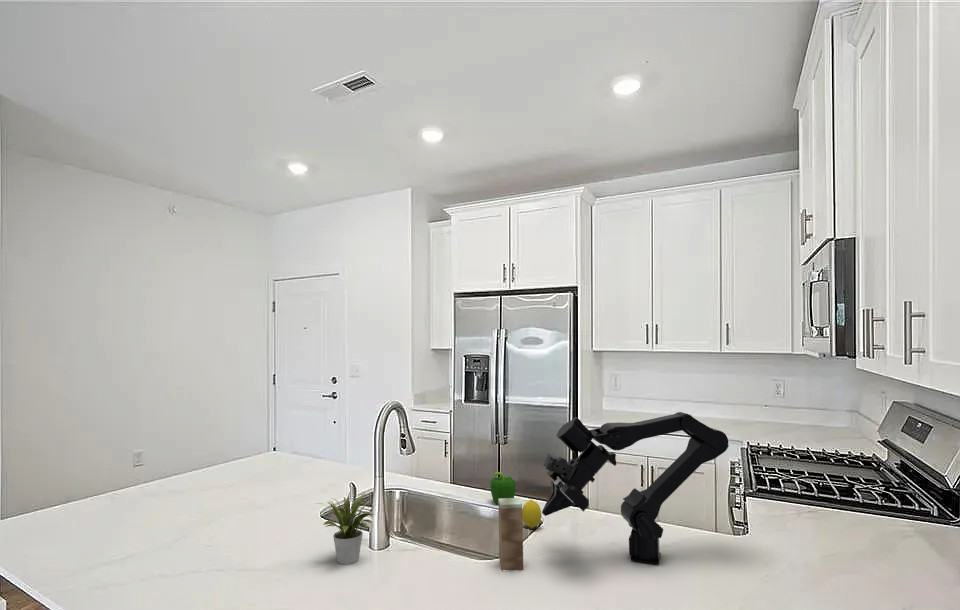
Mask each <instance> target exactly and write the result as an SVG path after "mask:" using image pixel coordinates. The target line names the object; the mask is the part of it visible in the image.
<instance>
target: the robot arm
mask: <svg viewBox="0 0 960 610" xmlns="http://www.w3.org/2000/svg"><path fill="white" fill-rule="evenodd" d="M681 431H682V432H684V433H685V434H686V435H687V436H689V437H690V438H689V440H688V442H687V445H686V448H685V450H684V451H683V452H682V453H681V454H680V455H679V456H678V457H677V458H676V459H675V460H674V462H672V464H670V466H668V467H667V468H666V469H665V470H664V471H663V472H662V473H661V474H660V475H659V476H658V477H657V478H656V479H655V480H654V481H652V483H651V484H650V485H649V486H648V487H647V488H646V489H643V490H639V489H637V488H636V487H635V488H633V489H632V490H631V491H630V493H629V494H628V495H626V496H625V497H623V498H622V499H623V502H622V503H621V505H620V513H621V517H622V518H623V520H625V521H626V522H627V523H628V526H629V527H630V528H631V531H630V535H629V536H628V552H629V553H628V555H629V556H630V561H631V562H638V563H643V564H651V565H659V564H660V560H661V556H662V554H661V552H660V539H662V536H663V533H664V528H663V527H662V526H661V525H659V523H657V522H656V519H657V518H658V516H659V513H660V512H661V511H660V510H661V508H662V506H663V503H665V501H666V500H667V499H669V498H670V497H671V495H673V494H674V493H675V492H676V490H678V489H679V488H680V486H682V485H683V483H685V481H687V479H689V478H690V477H691V475H693V473H695V471H696V470H697V469H699V468H700V467H701V466H702V464H705V463H707V462H710V461H713V460H715V459H716V458H718V457H720V456H721V455H722V454H724V453H725V452H727V450H728V449H729V447H730V446H729V438H728V436H727V435H726V433H725V432H724V431H722V430H718V429H715V428H713V427H710V426H708V425H706V424H705V423H703V422H701V421H700V420H697V419H696V418H695V417H693V416H692V415H691V414H689V413H686V412H682V411H679V412H676V413H671V414H669V415H668V414H667V415H664V416H659V417H654V418H650V419H644V420H642V421H641V420H640V421H637V422H606V423H603V424H602V425H601V426H600V427H598V428H594V429H592V428H591V429H588V428H587V427H586V426H585V425H584V424H583V422H582V421H581V420H580V418H578V417H576V416H574V417H573V418H572V419H571V420H568V421H567V422H566V423H564V424H563V425H562V426H560V428H559V429H558V431H557V433H556V437H557V438H558V439H559V440H560V442H562V443H563V444H564V445H565V446H566V447H567V448H568V449H569V450H570V451H571V452H572V453H580V454H579V455H578V456H577V457H576V459H574V458H571V459H570V460H569V461H568V460H567V459H566V458H562V457H561V456H559V457H557V456H555V455H553V454H550V453H547V456H546V458H545V461H544V462H543V465H542V466H543V467H545V469H546V470H548V472H546V474H547V475H548V477H550V478H551V479H552V480H554V481H552V480H550V485H551V486H550V487H551V491H550V492H551V493H550V494H549V497H548V498H547V500H546V502H545V505H544V507H543V509H541V514H543V516H545V517H546V516H549V515H552V514H554V513H556V512H558V511H561V510H564V509H567V508H571V507H575V506H577V507H578V508H579V509H580V510H581V511H582V512H585V511H586V509H587V508H589V506H590V501H589V500H590V499H588V498H587V496H586V495H584V493H585V492H584V491H583V489H584V488H585V487H586V486H587V485H588V484H589V483H590V482H591V483H594V482H595V481H596V479H595V478H594V477H595V476H596V475H597V474H598V472H599V471H600V470H601V469H602V468H603V467H604V466H605V465H606V463H607V462H608V463H610V464H611V465H613V466H614V467H616V466H617V460H616V457H617V454H616V453H614V452H609V450H607V448H609V449H611V450H613V451H621V450H624V449H627V448H628V447H631V446H633V445H634V444H636V443H637V442H639V441H641V440H646V439H649V438H654V437H658V436H662V435H667V434H672V433H676V432H681ZM593 441H595V442H597V443H599V445H597V444H595V443H594V442H593ZM605 446H606V447H607V448H605Z"/></svg>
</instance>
